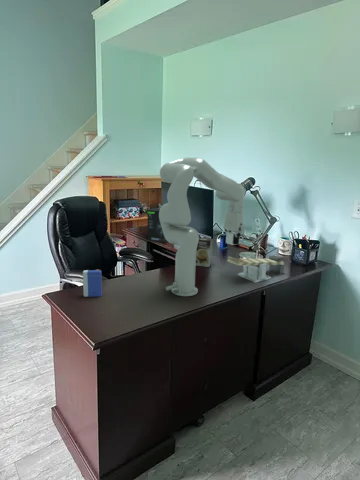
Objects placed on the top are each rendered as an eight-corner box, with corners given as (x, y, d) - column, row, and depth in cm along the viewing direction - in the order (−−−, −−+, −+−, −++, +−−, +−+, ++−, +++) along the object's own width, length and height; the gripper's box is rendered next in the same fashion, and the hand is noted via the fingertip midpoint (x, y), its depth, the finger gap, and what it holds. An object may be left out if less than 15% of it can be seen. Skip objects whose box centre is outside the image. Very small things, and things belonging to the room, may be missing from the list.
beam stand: (255, 282, 176) (256, 266, 174) (237, 275, 187) (238, 259, 184) (287, 274, 190) (288, 259, 188) (269, 268, 201) (270, 253, 198)
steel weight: (232, 245, 178) (233, 233, 177) (225, 243, 182) (226, 232, 181) (238, 244, 181) (239, 233, 180) (232, 242, 185) (233, 231, 184)
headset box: (146, 240, 258) (147, 207, 252) (152, 237, 269) (153, 205, 263) (175, 243, 252) (175, 209, 246) (179, 240, 263) (180, 207, 257)
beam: (237, 267, 170) (239, 258, 169) (226, 262, 176) (228, 254, 176) (283, 266, 191) (285, 258, 190) (272, 262, 197) (273, 255, 196)
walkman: (102, 294, 156) (101, 269, 153) (101, 296, 153) (100, 271, 150) (84, 294, 155) (83, 269, 152) (83, 296, 152) (82, 271, 149)
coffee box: (194, 265, 201) (195, 239, 198) (196, 262, 207) (197, 236, 204) (209, 267, 199) (210, 240, 195) (210, 264, 205) (212, 238, 202)
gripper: (219, 207, 182) (216, 240, 186) (241, 212, 169) (238, 247, 173) (229, 207, 187) (226, 239, 191) (252, 211, 173) (248, 245, 177)
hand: (232, 242), depth 182 cm, fingers closed on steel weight, 5 cm apart
